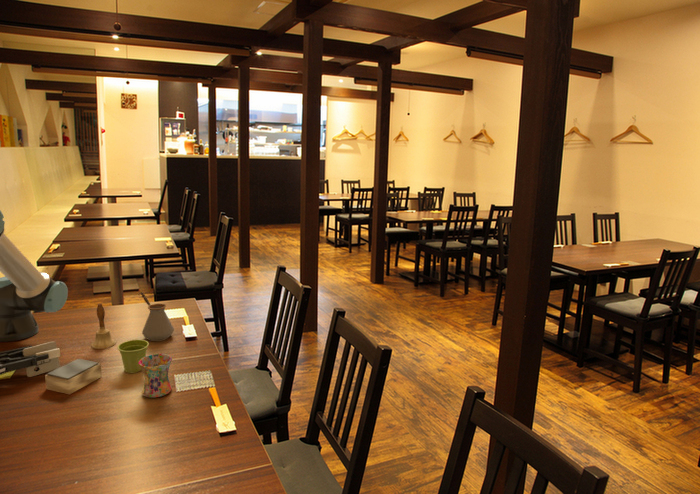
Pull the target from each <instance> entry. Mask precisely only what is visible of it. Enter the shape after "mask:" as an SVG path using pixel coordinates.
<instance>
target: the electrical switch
mask: <svg viewBox="0 0 700 494" xmlns="http://www.w3.org/2000/svg"><path fill="white" fill-rule="evenodd" d="M57 346H58V345H57V342H56V341H48V342H44V343H41V344H37V345H32V347H29V346H28V347H29V348H25V349H24V350H23V355H24V356H31V355H36V353H39V352H44V351H48V350H53V349H57V348H58V347H57ZM60 367H61V363H60V359H59V357H56V358H52V359H48V360H43V361H39V362H37V365H36V366H31V367H27V368H25V370H26V376H27V377H28V378H32V377H36V376H38V375H42V374H45V373H46V374H47V373H49V372H52V371H54V370H56V369H58V368H60Z"/></svg>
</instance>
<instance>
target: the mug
mask: <svg viewBox="0 0 700 494" xmlns="http://www.w3.org/2000/svg"><path fill="white" fill-rule="evenodd" d="M172 360H173V357H172V356H171V355H169V354H166V353H152V354H149V355H146V357H144V358H142V359H141V360H140V361H139V366H140V367H141V369H142V371H141V372H142V374H143V379H144V381H143V383H144V384H143V387H142V390H141V393H142V395H143V396H144V397H146V398H160V397H164V396H166V395H168V394H169V393H170V392H171V391H172V389H173V386H172V384H171V383H170V379H169V370H170V366H171V364H172V363H171V362H172Z"/></svg>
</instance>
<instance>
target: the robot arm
mask: <svg viewBox="0 0 700 494" xmlns="http://www.w3.org/2000/svg"><path fill="white" fill-rule="evenodd" d="M3 219H4V214H3V212H2V211H1V210H0V273H1V274H2V275H3V276H2V277H0V342H1V343H3V342H16V341H19V340H20V341H21V340H24V339H28V338H30V337H33V336H35V335H37V333H39V324H38V323H37V320H36V319H35V317H34V315H33V312H41V313H42V312H43V313H56V312H58V311H60V310H61V309H62V308H63V307H64V306H65V304H66V301H67V299H68V295H69V294H68V293H69V290H68V289H69V288H68V287H67V285H66V283H65V282H63V281H59V280H57V281H55V280H53V279H52V277H51V275H49V274H47V272H44V271H39V269H37V268H36V267H35V266H34V264H33V263H32V262H31V261H30V260H29V259H28V258H27V257H26V256H25V254H23V253H22V251H21V250H20V249H19V248H18V247H17V246H16V244H14V243H13V241H11V240H10V238H9V237H8V236H7V235H6V234H5V231H6V229H5V222H6V221H5V220H3ZM29 347H33V345H27V346H22V347H18V348H14V349H8V350H4V351H0V376H1V375H4V374H6V373H11V372H15V371H18V370H23V369H26V368H27V367H31V366H36V365H37V362H39V361H43V360H48V359H52V358H56V357H61V350H60V348H59V347H57V349H53V350H48V351H44V352H39V353H36V355H31V356H24V355H23V350H24V349H25V348H29Z"/></svg>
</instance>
